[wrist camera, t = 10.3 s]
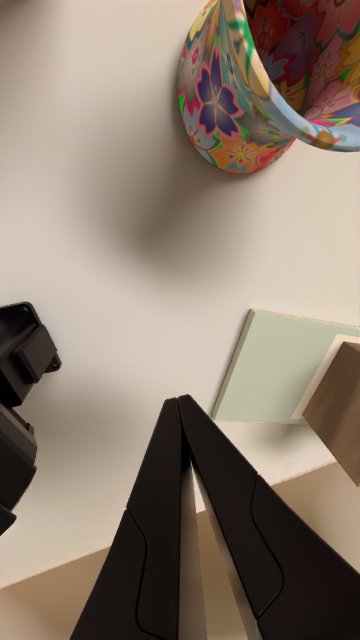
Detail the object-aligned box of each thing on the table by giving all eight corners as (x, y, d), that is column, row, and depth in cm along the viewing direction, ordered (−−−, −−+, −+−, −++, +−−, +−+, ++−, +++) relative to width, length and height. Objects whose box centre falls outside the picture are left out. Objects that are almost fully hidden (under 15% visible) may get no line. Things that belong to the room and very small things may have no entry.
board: (212, 413, 27) (214, 420, 26) (250, 308, 22) (255, 312, 21) (368, 422, 32) (375, 428, 31) (429, 338, 27) (439, 343, 26)
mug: (241, 210, 18) (353, 214, 9) (138, 107, 15) (133, -77, 5) (371, 44, 15) (773, -239, 5) (279, -136, 11) (934, -1766, 2)
